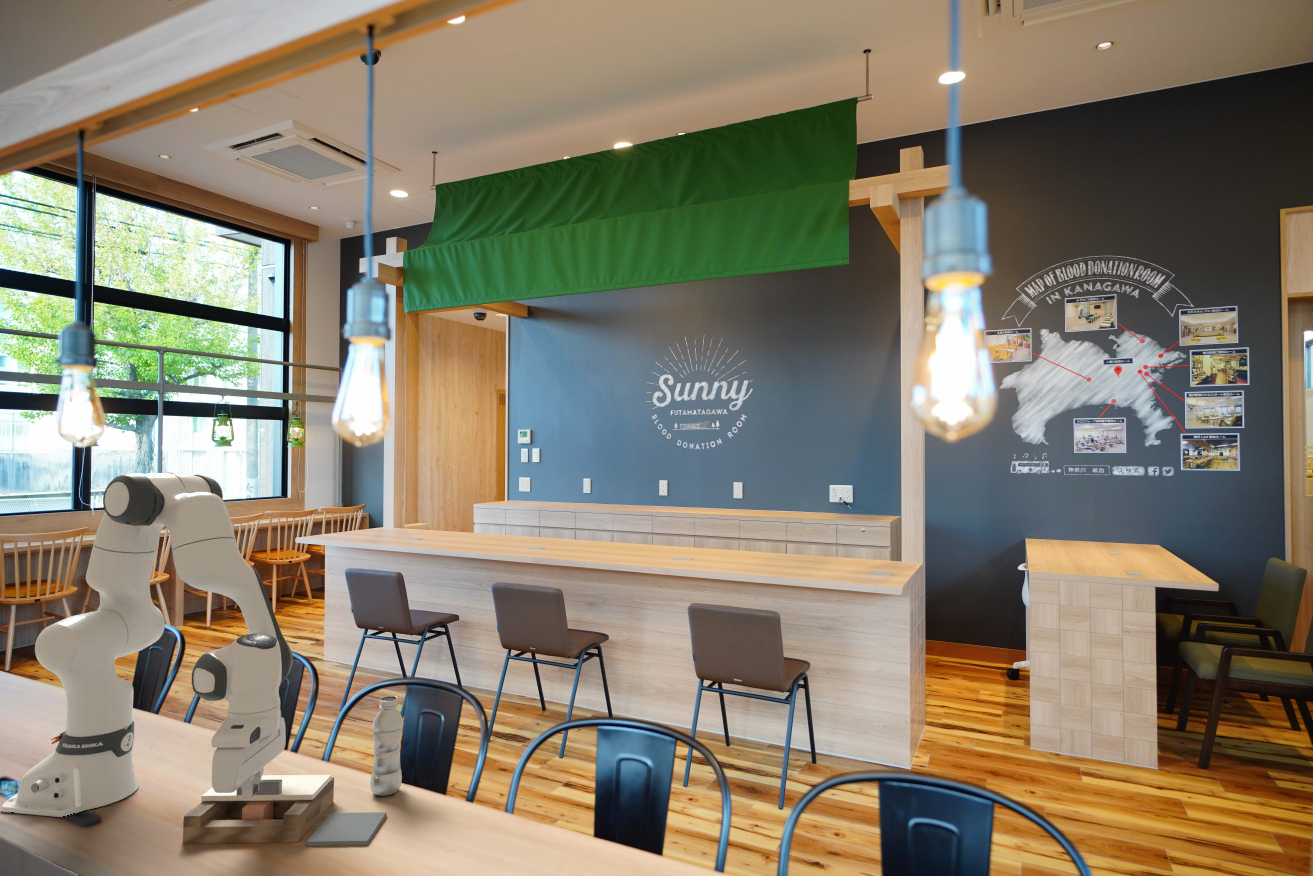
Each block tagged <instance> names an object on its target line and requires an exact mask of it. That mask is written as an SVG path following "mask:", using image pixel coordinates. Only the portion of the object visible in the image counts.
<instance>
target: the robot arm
mask: <svg viewBox="0 0 1313 876" xmlns="http://www.w3.org/2000/svg"><path fill="white" fill-rule="evenodd" d="M223 497H224V496H223V490H222V487H221V485H220V484H219V483H218V481H216V479H213V478H212V477H209V476H205V475H200V474H187V473H182V472H181V473H179V472H163V473H162V472H152V473H141V472H131V473H127V474H126V473H125V474H122V475H118V476H115V477H114V478H113V479H112V480H111V481H110V482H109V483H108V485H107V486H106V488H105V491H104V492H103V498H102V504H103V508H104V511H105V512H104V514H103V516H102V518H101V520H100V523H99V524H98V527H97V530H96V532H95V533H96V534H95V537H94V541H93V545H92V548H91V553H90V558H89V561H88V566H87V570H86V574H85V581H86V583H87V585H88V586H89V587H90V588H91V589H93V590H94V591H96V592H98V595H99V606H98V608H97V610H95V611H89V612H85V613H80V614H76V615H72V616H68V617H66V618H64V619H61V620H59V621H57V622H54V623H52V624H50V625H48V626H46V627H45V628H44V629H42V630H41V632H40V633H39V634H38V636H37V638H36V641H35V644H34V645H35V646H34V652H35V654H34V655H35V657H36V659H37V661H38V663H39V664H40V665H41V666H42V667H43V668H44V669H46V670H47V671H49V672H52V673H53V674H55V676H56V677H57V678H58V679H59V680H60V682H61V684H62V686H63V688H64V693H65V697H66V720H65V721H66V723H65V724H66V727H65V730H64V731H63V732H61V733H60V734H58V735H57V736H55V737H52V738H51V741H52V742H51V745H54V744H55V743H58V744H57V746H56V748H55V750H54V751H53V752H52V753H50V754H49V755H48V756H46V757H45V758H43V759H42V760H41V761H39V762H37V764H35V765H34V766H32V767H31V768H30V769H29V770H27V771H26V772H25V773H24V775H23V776H22V778H21V780H20V783H19V787H18V790H17V793H16V794H14V795H12V796H11V797H10V798H8V799H6V800H5V802H3V804H2V805H1V810H0V811H1V812H3V813H11V812H14V814H23V815H35V816H45V817H46V816H47V817H58V818H64V817H63V816H65V817H68V816H67V815H69V816H71V815H70V814H72V815H74V814H73V813H75V814H78V813H80V812H83V811H88V810H91V809H95V808H100V807H105V806H108V805H110V804H114V803H116V802H118V801H120V800H123V799H125V798H127V797H130V796H131V795H132V794H134V793H135V792H136V791H137V790H138V788H139V783H138V781H137V778H136V774H135V768H134V761H133V746H134V740H135V722H134V720H133V709H134V708H133V707H134V686H133V685H132V683H131V682H130V681H128V680H127V679H125V678H122V677H119V675H118V673H117V670H116V666H115V663H116V659H119V658H123V657H125V656H129V655H132V654H136V653H138V652H140V651H142V650H145V649H146V648H148V647H149V646H152V645H153V644H155V643H156V642H157V641H159V640H160V638H161V637H162V635H163V634H164V632H165V626H166V622H165V621H166V619H165V617H164V615H163V613H162V611H161V610H160V609H159V608H158V607H157V606H156V605H155V604H154V601H153V600H152V595H151V577H152V573H153V568H154V562H155V558H156V553H157V551H158V550H157V549H158V545H159V540H160V535H161V532H162V530H163V528H164V527H166V528H167V530H168V531H169V532H168V533H169V537H170V545H171V551H172V553H171V554H172V559H173V564H174V568H175V571H176V573H177V575H178V577H179V579H180V580H182V581H183V582H184V583H186V584H187V585H188V586H190V587H192V588H195V589H197V590H201V591H205V592H209V593H215V594H219V595H222V596H225V597H227V598H230V599H231V600H232V601H234V602H235V603H236V604H237V605H238V606H239V608H240V611H241V614H242V616H243V619H244V622H245V625H246V627H247V630H248V634H245V635H244V634H243V635H240V636H239V637H237V638H236V639H235V640H234V641H233V642H232V643H230V644H229V645H227V646H224V647H221V648H217V649H214V650H211V651H209V652H206V653H203V654H202V655H201V656H200V657H199V658H198V660H197V661H196V662H195V664H194V666H193V669H192V671H191V672H192V673H191V688H192V689H193V692H194V693H195V694H196V695H197V696H198V697H200V698H201V699H203V700H205V701H209V702H217V701H218V702H219V701H221V700H224V701H227V702H228V708H227V712H226V713H227V714H226V715H227V717H225V718H224V721H223V722H222V724H221V726H220V727H219V728H218V730H216V732H215V733H214V734H213V735H212V737H211V747H212V748H215V749H214V752H213V755H212V761H211V762H212V763H211V788H212V787H213V789H214V791H215V792H216V793H232V792H234V791H236V790H237V789H238V788H239V787H241V789H242V798H243V799H250V798H251V797H253V796H254V795H255V794H256V793H257V792H258V791H259V784H260V780H261V777H262V775H263V774H264V771H265V769H264V768H265V767H266V766H267V765H268V764H270V762H272V761H273V760H274V759H276V758H277V757H278V756H279V755H281V753H283V752H284V750H285V747H286V734H287V733H286V722H285V718H284V717H283V716H282V710H281V698H280V695H279V694H280V693H279V690H280V686H281V685H282V684H283V683H284V681H285V680H286V679H287V677H288V676H289V674H290V673H291V669H292V667H293V663H294V656H293V653H292V650H291V648H290V646H289V644H288V642H287V640H286V639H285V637H284V634H283V633H282V630H281V628H280V626H279V623H278V620H277V617H276V614H275V612H274V610H273V606H272V604H271V600H270V598H269V594H268V592H267V590H266V587H265V584H264V582H263V580H262V577H261V575H260V574H259V572H258V570H257V569H256V568H255V567H254V566H252V565H250V564H249V563H248V562H247V561H246V559H245V558H244V557H243V555H242V553H241V552H240V550H239V548H238V544H237V540H236V535H235V530H234V525H233V523H232V520H231V517H230V513H229V511H228V508H227V506H226V503H225V502H224V500H223Z"/></svg>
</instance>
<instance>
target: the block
mask: <svg viewBox="0 0 1313 876" xmlns="http://www.w3.org/2000/svg"><path fill="white" fill-rule="evenodd" d="M273 808H274V800H257V801H250V802H249V803H248V804H247V805H246V806H245V807H243V808H242V818H241V820H266V819H274V818H273Z"/></svg>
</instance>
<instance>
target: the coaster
mask: <svg viewBox="0 0 1313 876" xmlns="http://www.w3.org/2000/svg"><path fill="white" fill-rule="evenodd" d="M387 814H388V813H387V811H380V812H379V811H377V812H376V811H375V812H373V811H372V812H370V811H369V812H366V811H365V812H330V813H329V814H328V815H327V817H326V818H324V820H323V822H321V824H320V825H319V826H318V827H317V828H316V830H315V831H314V832H313V833H312V834H311V836H310V837H309V838H307V839H308V840H306V847H329V846H330V847H331V846H332V847H333V846H336V847H339V846H368V845H369V843H370V841H371V840H372V838H373V837H374V835H375V834H376V833H377V831H378V829H379V828H380V826H381V825H382V823H383V822H384V821H385V820H386V818H387Z"/></svg>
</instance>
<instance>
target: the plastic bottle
mask: <svg viewBox="0 0 1313 876" xmlns="http://www.w3.org/2000/svg"><path fill="white" fill-rule="evenodd" d="M378 706H379V708H378V709H379V711H378V712H377V714H376V716H375V717H374V719H373V721H372V724H371V725H372V730H371V731H372V736H373V754H374V755H373V763H372V771H371V775H370V780H369V785H370V790H371V792H372V794H374V795H376V796H378V797H379V796H381V797H383V796H390V795H393V794H395V793H397V792H398V791H399V790H400V788H401V786H402V779H403V776H402V768H401V755H400V751H401V742H402V741H401V740H402V734H403V728H404V719H403V718H404V717H403V716H402V714H401V713H400V712H399V710H398V709H397V708H398V706H399V705H398V697H397V696H395V695H386V696H383V697H381V698H380V699H379V705H378ZM376 777H377V778H376Z"/></svg>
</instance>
